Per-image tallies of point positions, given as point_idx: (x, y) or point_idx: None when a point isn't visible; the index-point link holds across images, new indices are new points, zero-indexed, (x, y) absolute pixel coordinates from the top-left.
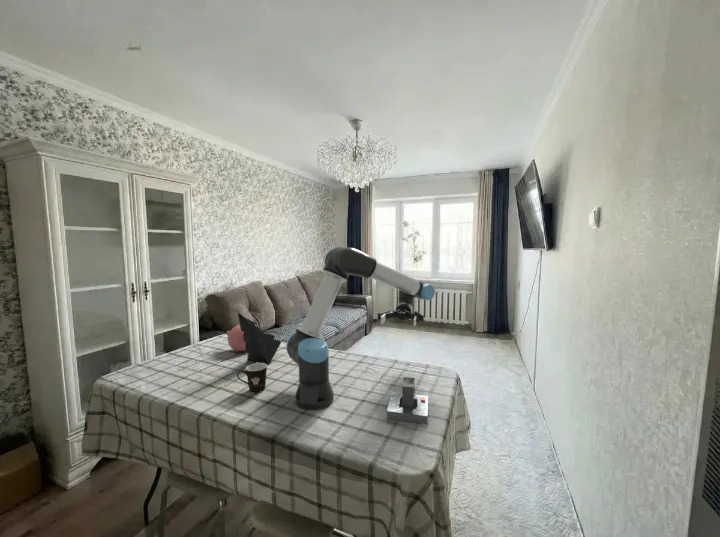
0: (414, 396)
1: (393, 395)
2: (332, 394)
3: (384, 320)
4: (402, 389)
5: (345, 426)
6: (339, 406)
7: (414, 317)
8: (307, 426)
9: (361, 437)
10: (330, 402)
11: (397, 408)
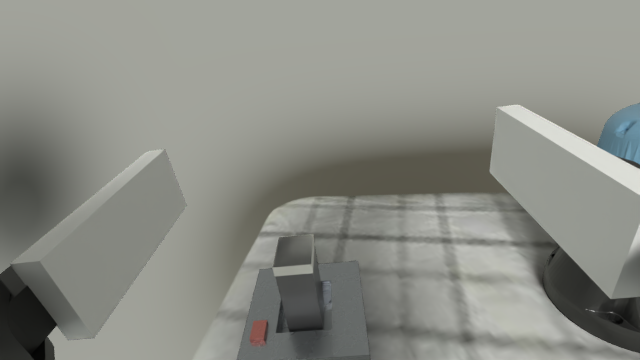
0: (285, 314)
1: (359, 333)
2: (562, 289)
3: (550, 221)
4: (315, 250)
5: (436, 237)
6: (511, 290)
7: (116, 190)
8: (508, 219)
9: (389, 224)
10: (546, 286)
11: (333, 275)
